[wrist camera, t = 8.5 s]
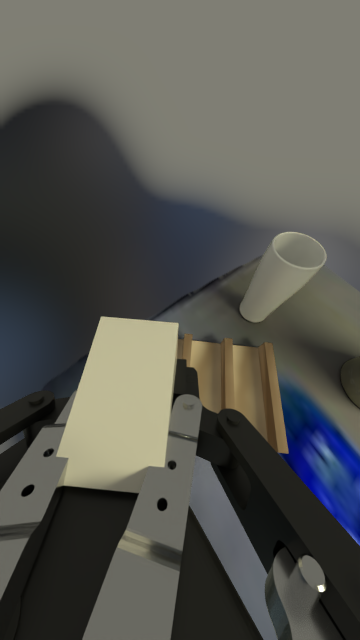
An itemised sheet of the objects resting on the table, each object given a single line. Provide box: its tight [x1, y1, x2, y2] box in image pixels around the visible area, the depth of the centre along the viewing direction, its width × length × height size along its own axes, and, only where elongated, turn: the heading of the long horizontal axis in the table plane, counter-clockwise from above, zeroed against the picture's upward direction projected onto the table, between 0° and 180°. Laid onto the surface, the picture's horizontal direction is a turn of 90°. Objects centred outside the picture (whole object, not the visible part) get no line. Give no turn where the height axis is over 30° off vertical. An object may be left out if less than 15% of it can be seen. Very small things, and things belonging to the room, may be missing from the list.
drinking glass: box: [240, 232, 327, 322], centre depth 29 cm, size 7×7×15 cm
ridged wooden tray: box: [177, 334, 288, 453], centre depth 27 cm, size 21×14×4 cm, turn 84°
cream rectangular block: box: [56, 317, 178, 493], centre depth 11 cm, size 3×5×11 cm, turn 175°
